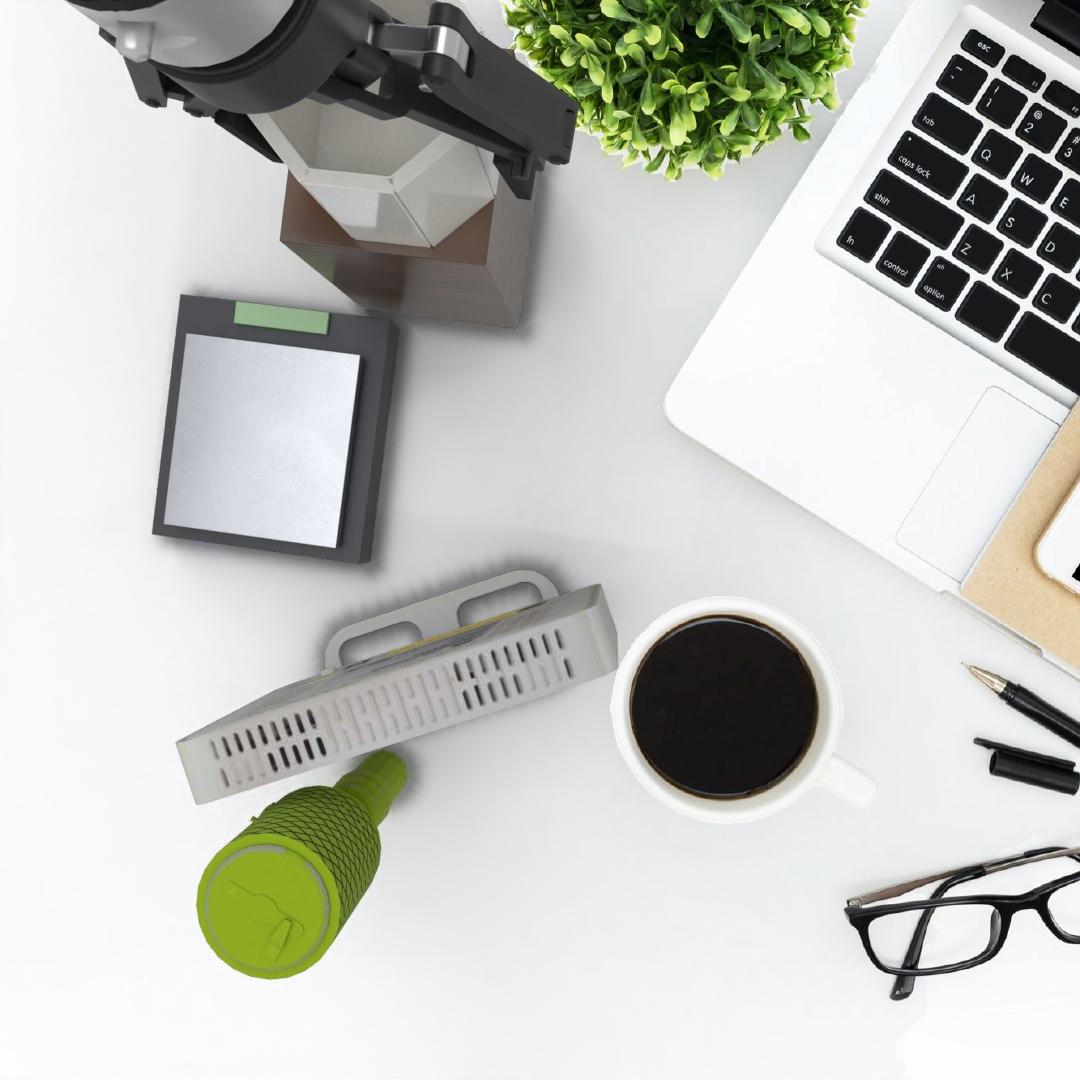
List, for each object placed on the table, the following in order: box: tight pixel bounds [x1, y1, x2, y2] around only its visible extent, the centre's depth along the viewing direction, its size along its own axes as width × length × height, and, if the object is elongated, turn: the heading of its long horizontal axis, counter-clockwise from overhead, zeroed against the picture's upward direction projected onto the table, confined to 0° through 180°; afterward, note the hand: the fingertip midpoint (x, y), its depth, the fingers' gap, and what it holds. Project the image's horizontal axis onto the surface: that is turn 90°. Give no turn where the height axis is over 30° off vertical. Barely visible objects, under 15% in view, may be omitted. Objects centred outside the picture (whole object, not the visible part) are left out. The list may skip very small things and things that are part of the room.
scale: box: [151, 293, 401, 565], centre depth 70 cm, size 18×16×3 cm
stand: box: [279, 47, 540, 329], centre depth 61 cm, size 12×12×18 cm
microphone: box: [195, 750, 408, 981], centre depth 59 cm, size 8×8×25 cm
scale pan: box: [164, 333, 364, 548], centre depth 68 cm, size 14×13×1 cm
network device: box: [174, 569, 619, 806], centre depth 61 cm, size 26×9×20 cm, turn 109°
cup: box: [247, 0, 499, 248], centre depth 48 cm, size 11×11×9 cm
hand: (403, 155), depth 49 cm, fingers open, 13 cm apart
